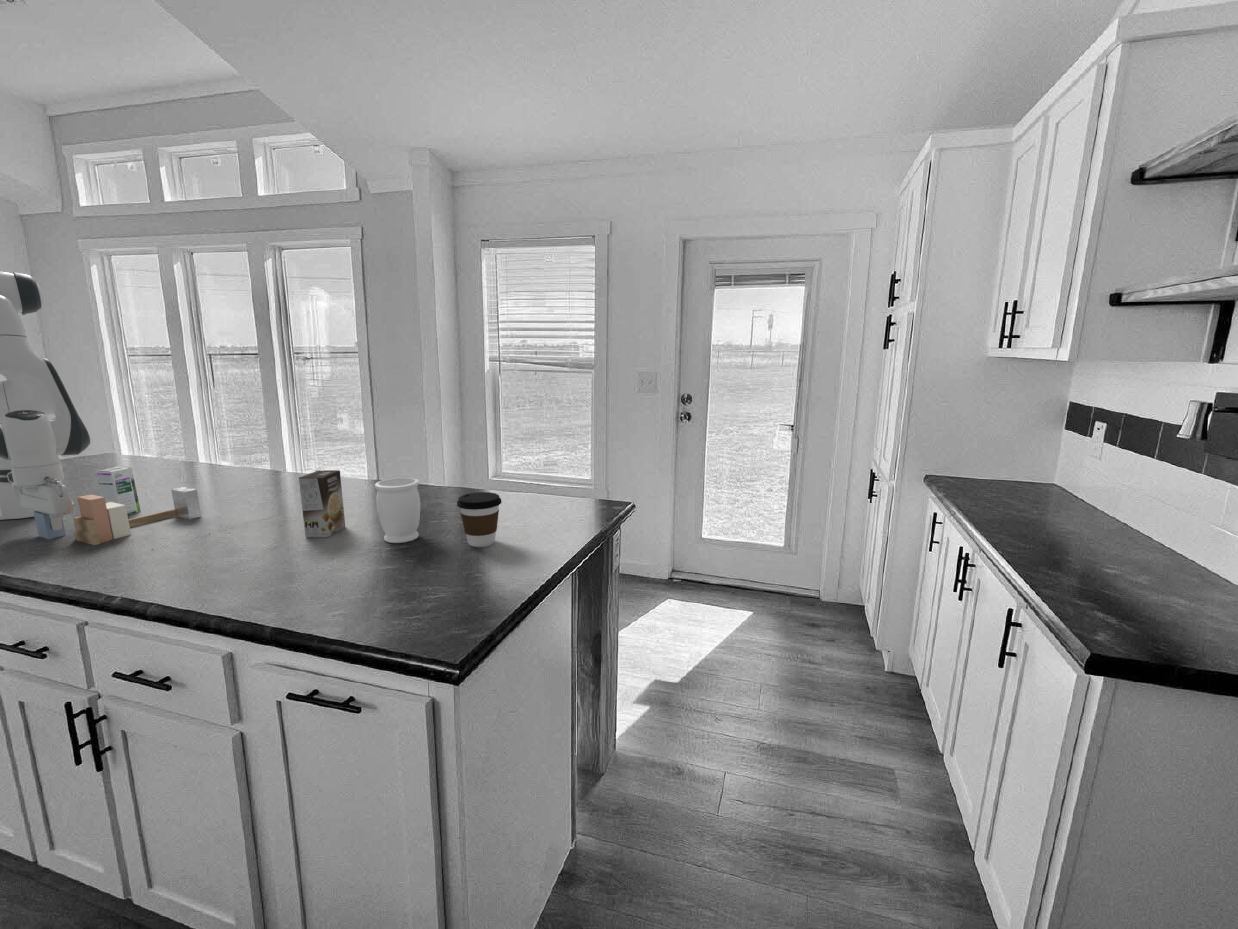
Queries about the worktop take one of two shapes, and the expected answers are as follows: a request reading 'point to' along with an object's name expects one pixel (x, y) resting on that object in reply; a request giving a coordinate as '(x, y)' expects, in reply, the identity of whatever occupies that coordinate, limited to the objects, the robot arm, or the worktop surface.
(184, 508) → the bookend
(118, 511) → the book
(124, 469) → the syrup box
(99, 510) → the book
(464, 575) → the worktop surface
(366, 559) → the worktop surface
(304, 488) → the coffee box
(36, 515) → the pale blue cuboid
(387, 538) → the jar
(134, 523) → the rack
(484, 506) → the coffee cup
